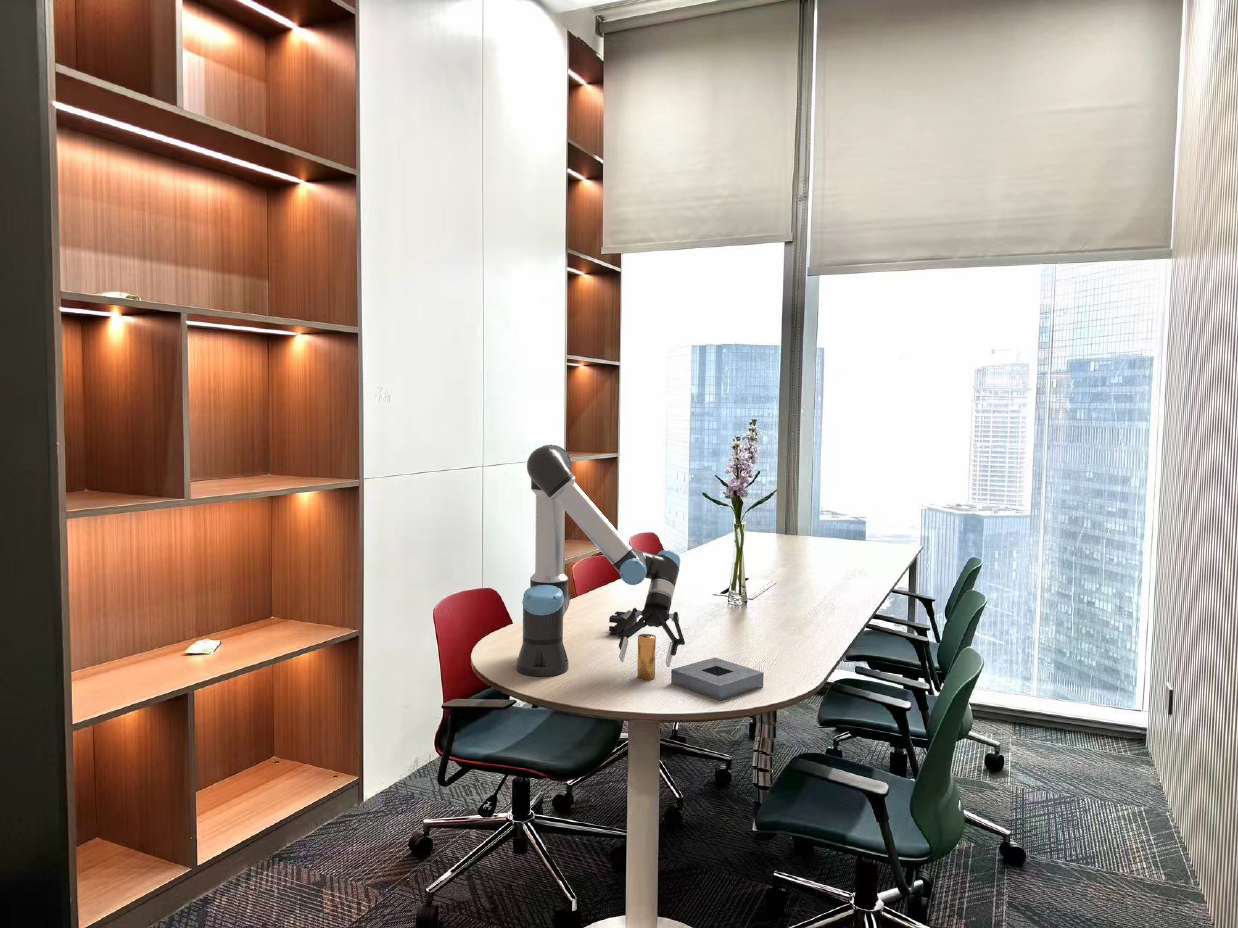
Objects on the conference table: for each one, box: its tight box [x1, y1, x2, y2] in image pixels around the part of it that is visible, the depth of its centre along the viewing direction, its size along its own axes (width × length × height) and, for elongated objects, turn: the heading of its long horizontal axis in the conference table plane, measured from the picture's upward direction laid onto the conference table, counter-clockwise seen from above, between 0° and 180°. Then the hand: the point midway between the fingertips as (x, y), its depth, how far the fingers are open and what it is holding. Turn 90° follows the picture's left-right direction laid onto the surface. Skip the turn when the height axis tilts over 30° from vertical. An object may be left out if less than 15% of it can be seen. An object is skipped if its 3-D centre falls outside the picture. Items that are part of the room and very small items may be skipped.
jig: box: [670, 657, 764, 702], centre depth 231 cm, size 18×18×4 cm
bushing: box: [636, 633, 657, 681], centre depth 236 cm, size 5×5×12 cm
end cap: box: [608, 609, 638, 637], centre depth 284 cm, size 10×7×7 cm
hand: (644, 662), depth 234 cm, fingers open, 13 cm apart
